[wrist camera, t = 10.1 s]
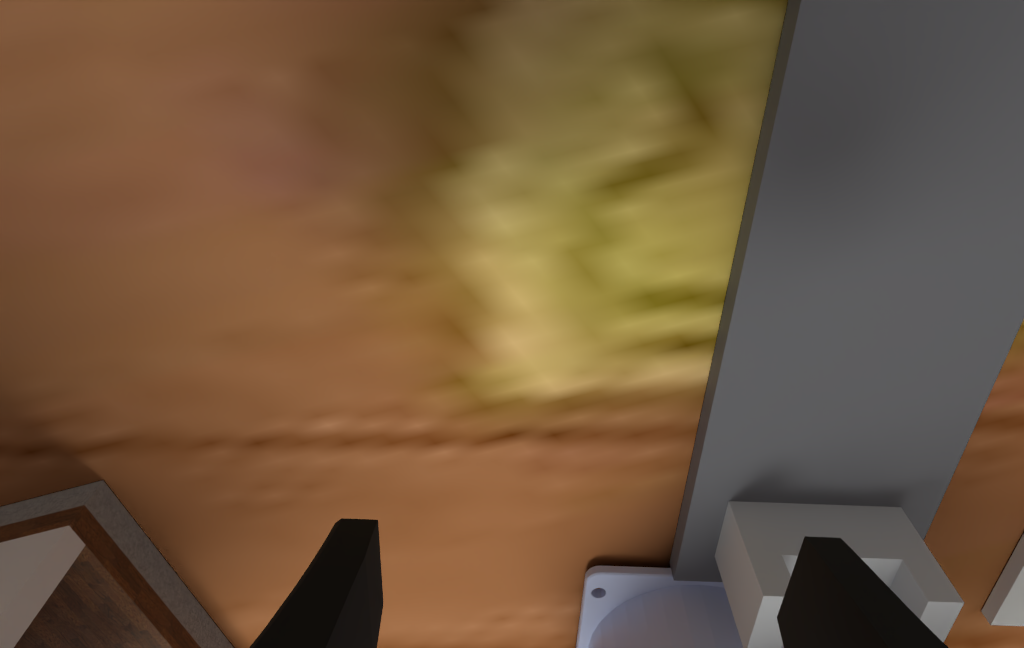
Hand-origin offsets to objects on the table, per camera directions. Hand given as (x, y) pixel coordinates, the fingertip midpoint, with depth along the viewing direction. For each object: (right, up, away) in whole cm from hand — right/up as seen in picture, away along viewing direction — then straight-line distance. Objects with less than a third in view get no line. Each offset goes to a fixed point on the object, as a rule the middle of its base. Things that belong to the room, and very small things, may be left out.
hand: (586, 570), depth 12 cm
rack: (+9, +6, +7) cm, 13 cm away
